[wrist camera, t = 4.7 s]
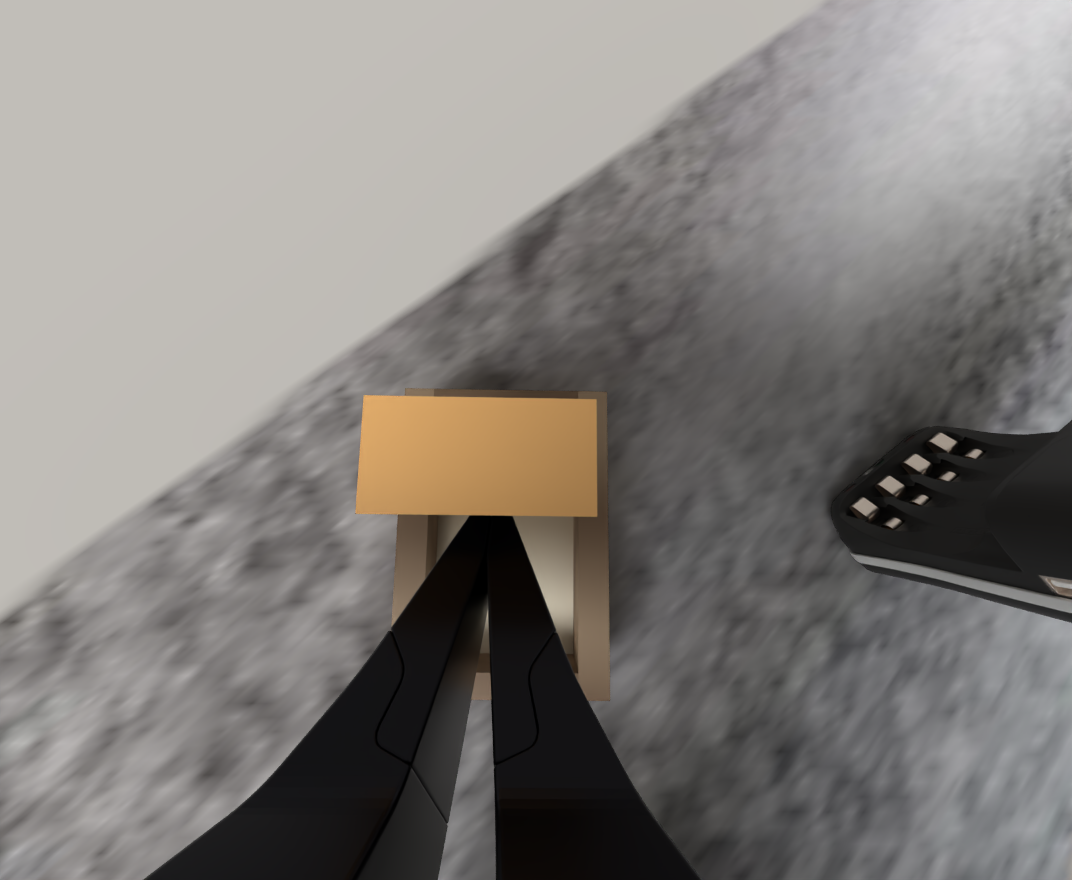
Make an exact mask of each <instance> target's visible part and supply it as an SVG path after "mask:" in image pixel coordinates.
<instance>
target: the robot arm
mask: <svg viewBox="0 0 1072 880" xmlns="http://www.w3.org/2000/svg"><path fill="white" fill-rule="evenodd" d="M487 612H488V623H489V650H490V677H491V704H492V731H493V758H494V786H495V835H496V880H702V879H701V878H700V877H699V875H698V874H697V873H696V871H695V870H694V869H693V867H692V866H691V865H690V863H689V862H688V861H687V859H686V858H685V857H684V856H683V854H682V853H681V852H680V850H679V849H678V848H677V846H676V845H675V844H674V842H673V841H672V840H671V838H670V837H669V836H668V834H667V833H666V832H665V830H664V829H663V828H662V826H661V825H660V824H659V823H658V821H657V820H656V819H655V817H654V816H653V815H652V813H651V812H650V811H649V809H648V808H647V806H646V805H645V803H644V802H643V800H642V798H641V797H640V795H639V794H638V792H637V791H636V789H635V787H634V786H633V784H632V782H631V780H630V779H629V777H628V775H627V773H626V772H625V770H624V768H623V766H622V765H621V763H620V761H619V759H618V757H617V755H616V753H615V751H614V749H613V748H612V746H611V744H610V742H609V740H608V738H607V736H606V734H605V733H604V731H603V729H602V727H601V725H600V723H599V721H598V719H597V717H596V716H595V714H594V712H593V710H592V708H591V706H590V704H589V702H588V701H587V699H586V696H585V694H584V692H583V690H582V688H581V686H580V684H579V682H578V680H577V678H576V676H575V674H574V672H573V669H572V667H571V665H570V662H569V660H568V657H567V655H566V653H565V650H564V648H563V645H562V643H561V640H560V637H559V635H558V633H557V632H556V628H555V625H554V622H553V620H552V617H551V615H550V612H549V609H548V607H547V604H546V601H545V599H544V596H543V594H542V591H541V588H540V586H539V583H538V581H537V578H536V575H535V573H534V570H533V568H532V565H531V562H530V560H529V557H528V555H527V552H526V549H525V547H524V544H523V542H522V539H521V536H520V534H519V531H518V528H517V526H516V523H515V521H514V518H513V516H494V515H469V517H468V518H467V520H466V521H465V523H464V524H463V525H462V527H461V528H460V530H459V531H458V533H457V534H456V535H455V537H454V538H453V540H452V541H451V543H450V544H449V545H448V547H447V548H446V550H445V551H444V553H443V554H442V555H441V557H440V558H439V560H438V561H437V563H436V564H435V565H434V567H433V568H432V570H431V571H430V573H429V574H428V575H427V577H426V578H425V580H424V581H423V583H422V584H421V585H420V587H419V588H418V590H417V591H416V593H415V594H414V595H413V597H412V598H411V600H410V601H409V603H408V604H407V605H406V607H405V608H404V610H403V611H402V613H401V614H400V615H399V617H398V618H397V620H396V621H395V623H394V624H393V625H392V627H391V631H388V632H387V634H386V635H385V637H384V638H383V640H382V641H381V642H380V644H379V645H378V647H377V648H376V649H375V651H374V652H373V654H372V655H371V656H370V658H369V659H368V660H367V662H366V663H365V664H364V666H363V667H362V668H361V670H360V671H359V672H358V674H357V675H356V676H355V677H354V679H353V680H352V681H351V682H350V683H349V685H348V686H347V687H346V688H345V690H344V691H343V692H342V693H341V694H340V696H339V697H338V698H337V699H336V700H335V702H334V703H333V704H332V705H331V706H330V708H329V709H328V710H327V711H326V712H325V713H324V715H323V716H322V717H321V718H320V719H319V720H318V722H317V723H316V724H315V725H314V726H313V728H312V729H311V730H310V731H309V732H308V733H307V735H306V736H305V737H304V738H303V739H302V740H301V742H300V743H299V744H298V745H297V746H296V747H295V749H294V750H293V751H292V752H291V753H290V755H289V756H288V757H287V758H286V759H285V760H284V762H283V763H282V764H281V765H280V766H279V767H278V768H277V770H276V771H275V772H274V773H273V774H272V775H271V776H270V777H269V778H268V780H267V781H266V782H265V783H264V784H263V785H262V786H261V787H260V788H259V789H258V790H257V791H256V792H254V793H253V794H252V795H251V796H250V797H249V798H248V799H247V800H246V801H245V802H243V803H242V804H241V805H240V806H239V807H238V808H236V809H235V810H234V811H233V812H231V813H230V814H229V815H228V816H226V817H225V818H224V819H222V820H221V821H220V822H218V823H217V824H216V825H214V826H213V827H212V828H211V829H209V830H208V831H207V832H205V833H204V834H203V835H201V836H200V837H199V838H197V839H196V840H195V841H193V842H192V843H191V844H189V845H188V846H187V847H186V848H184V849H183V850H182V851H180V852H179V853H178V854H176V855H175V856H174V857H172V858H171V859H170V860H168V861H167V862H166V863H165V864H163V865H162V866H161V867H159V868H158V869H157V870H155V871H154V872H153V873H151V874H150V875H149V876H147V877H146V878H145V879H143V880H438V875H439V870H440V864H441V859H442V854H443V848H444V843H445V838H446V832H447V827H448V826H447V823H448V821H449V816H450V810H451V805H452V800H453V794H454V789H455V784H456V778H457V773H458V767H459V762H460V757H461V751H462V746H463V741H464V735H465V730H466V724H467V719H468V714H469V708H470V703H471V698H472V692H473V687H474V681H475V676H476V671H477V665H478V660H479V655H480V649H481V644H482V638H483V633H484V628H485V622H486V617H487Z"/></svg>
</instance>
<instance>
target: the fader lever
mask: <svg viewBox="0 0 1072 880" xmlns="http://www.w3.org/2000/svg"><path fill="white" fill-rule="evenodd" d="M355 514H413V515H494V516H574V517H597V399H556V398H495V397H434V396H373V395H364V400H363V414H362V428H361V442H360V457H359V471H358V485H357V499H356V513H355Z"/></svg>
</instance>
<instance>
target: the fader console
mask: <svg viewBox="0 0 1072 880" xmlns="http://www.w3.org/2000/svg"><path fill="white" fill-rule="evenodd" d="M405 396H434V397H495V398H556V399H597V517H574V516H513V518H514V521H515V523H516V526H517V528H518V531H519V534H520V536H521V539H522V542H523V544H524V547H525V549H526V552H527V555H528V557H529V560H530V562H531V565H532V568H533V570H534V573H535V575H536V578H537V581H538V583H539V586H540V588H541V591H542V594H543V596H544V599H545V601H546V604H547V607H548V609H549V612H550V615H551V617H552V620H553V622H554V625H555V628H556V632H557V633H558V635H559V637H560V640H561V643H562V645H563V648H564V650H565V653H566V655H567V657H568V660H569V662H570V665H571V667H572V669H573V672H574V674H575V676H576V678H577V680H578V682H579V684H580V686H581V688H582V690H583V692H584V694H585V696H586V699H587V701H610V644H609V547H608V449H607V392H594V391H534V390H473V389H413V388H405ZM468 517H469V515H413V514H398V523H397V540H396V557H395V575H394V592H393V610H392V625H393V624H394V623H395V621H396V620H397V618H398V617H399V615H400V614H401V613H402V611H403V610H404V608H405V607H406V605H407V604H408V603H409V601H410V600H411V598H412V597H413V595H414V594H415V593H416V591H417V590H418V588H419V587H420V585H421V584H422V583H423V581H424V580H425V578H426V577H427V575H428V574H429V573H430V571H431V570H432V568H433V567H434V565H435V564H436V563H437V561H438V560H439V558H440V557H441V555H442V554H443V553H444V551H445V550H446V548H447V547H448V545H449V544H450V543H451V541H452V540H453V538H454V537H455V535H456V534H457V533H458V531H459V530H460V528H461V527H462V525H463V524H464V523H465V521H466V520H467V518H468ZM471 700H491V677H490V650H489V623H488V612H487V617H486V622H485V628H484V633H483V638H482V644H481V649H480V655H479V660H478V665H477V671H476V676H475V681H474V687H473V692H472V698H471Z"/></svg>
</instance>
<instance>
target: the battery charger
mask: <svg viewBox="0 0 1072 880" xmlns="http://www.w3.org/2000/svg"><path fill="white" fill-rule="evenodd" d="M831 516H832V520H833V523H834V526H835V528H836V530H837V532H838V533H839V535H840V537H841V539H842V540H843V542H844V543H845V544H846V545H847V546H848V548H849V549H850V554H851V555H852V556H853V557H854V559H855V560H856V561H857V562H859V563H862V565H863V566H864V567H865V568H866V569H868V570H870V571H872V572H875V573H880V574H885V575H890V576H895V577H900V578H904V579H909V580H913V581H917V582H921V583H926V584H930V585H935V586H939V587H943V588H947V589H951V590H955V591H958V592H962V593H965V594H969V595H972V596H976V597H979V598H983V599H986V600H990V601H993V602H997V603H1001V604H1004V605H1008V606H1011V607H1015V608H1019V609H1023V610H1026V611H1030V612H1034V613H1037V614H1041V615H1045V616H1048V617H1052V618H1056V619H1060V620H1063V621H1067V622H1071V623H1072V420H1071V421H1070V422H1069V423H1068V424H1067V425H1066V426H1064V427H1063V428H1062V429H1061V430H1060V431H1059V432H1051V433H1039V434H1028V435H1018V434H997V433H987V432H980V431H974V430H968V429H960V428H950V427H940V426H934V427H926V428H923V429H921V430H918V431H916V432H915V433H913V434H912V435H910V436H909V437H907V438H906V439H905V440H904V441H902V442H901V443H900V444H899V445H897V446H896V447H895V448H894V449H893V450H891V451H890V452H889V453H888V454H886V455H885V456H884V457H883V458H882V459H880V460H879V461H878V462H877V463H875V464H874V465H873V466H872V467H871V468H869V469H868V470H867V471H866V472H865V473H864V474H862V475H861V476H860V477H859V478H858V479H856V480H855V481H854V482H853V483H852V484H851V485H849V486H848V487H847V488H846V489H845V490H844V491H843V492H841V494H840V495H839V496H838V497H837V498H836V499H835V500H834V502H833V504H832V508H831Z"/></svg>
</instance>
